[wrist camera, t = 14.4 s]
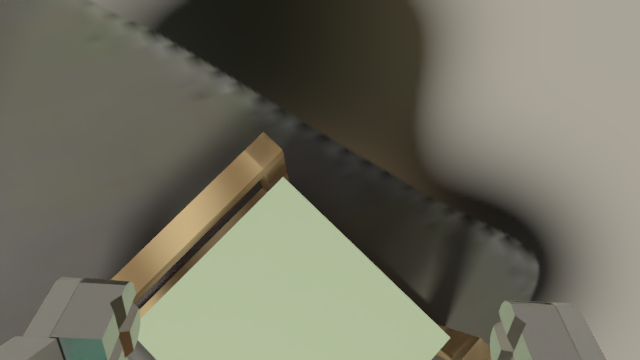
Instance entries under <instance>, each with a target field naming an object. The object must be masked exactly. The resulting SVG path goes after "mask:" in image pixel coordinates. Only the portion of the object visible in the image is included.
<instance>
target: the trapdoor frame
mask: <svg viewBox="0 0 640 360" xmlns="http://www.w3.org/2000/svg"><path fill="white" fill-rule="evenodd" d="M282 177H284V178H285V179H286V180H287V181H288V182H289V179H288V174H287V169H286V164H285V159H284V154H283V150H282V149H281V148H280V147H279V146H278V145H277V144H276V143H275V142H274V141H273V140H272V139H271V138H270V137H269V136H268V135H266V134H265V133H264V132H263V133H262V134H261V135H260V136H259V137H258V138H257V139H255V140H254V141H253V142H252V143H251V144H250V145H249V146H248V147H247V148H246V149H245V150H244V151H243V152H242V153H241V154H240V155H239V156H238V157H237V158H236V159H235V160H234V161H233V162H232V163H231V164H230V165H229V166H228V167H227V168H226V169H225V170H224V171H222V172H221V173H220V174H219V175H218V176H217V177H216V178H215V179H214V180H213V181H212V182H211V183H210V184H209V185H208V186H207V187H206V188H205V189H204V190H203V191H202V192H201V193H200V194H199V195H198V196H197V197H196V198H195V199H194V200H193V201H192V202H191V203H189V204H188V205H187V206H186V207H185V208H184V209H183V210H182V211H181V212H180V213H179V214H178V215H177V216H176V217H175V218H174V219H173V220H172V221H171V222H170V223H169V224H168V225H167V226H166V227H165V228H164V229H163V230H162V231H161V232H160V233H159V234H158V235H156V236H155V237H154V238H153V239H152V240H151V241H150V242H149V243H148V244H147V245H146V246H145V247H144V248H143V249H142V250H141V251H140V252H139V253H138V254H137V255H136V256H135V257H134V258H133V259H132V260H131V261H130V262H129V263H128V264H127V265H126V266H125V267H123V268H122V269H121V270H120V271H119V272H118V273H117V274H116V275H115V276H114V277H113V278H112V279H111V280H117V281H130V282H132V283H133V284H134V288H135V292H136V295H135V297H134V300H133V303H134V304H135V303H136V302H137V301H138V300H139V299H140V298H141V297H142V296H143V295H144V294H145V293H146V292H147V291H148V290H149V289H150V288H151V287H152V286H153V285H154V284H155V283H156V282H157V281H158V280H159V279H160V278H161V277H162V276H163V275H164V274H165V273H166V272H167V271H168V270H169V269H170V268H171V267H172V266H173V265H174V264H175V263H176V262H177V261H178V260H179V259H180V258H181V257H182V256H184V255H185V254H186V253H187V252H188V251H189V250H190V249H191V248H192V247H193V246H194V245H195V244H196V243H197V242H198V241H199V240H200V239H201V238H202V237H203V236H204V235H205V234H206V233H207V232H208V231H209V230H210V229H211V228H212V227H213V226H214V225H215V224H216V223H217V222H218V221H219V220H220V219H221V218H222V217H223V216H224V215H225V214H226V213H227V212H228V211H229V210H230V209H231V208H232V207H233V206H234V205H235V204H236V203H237V202H238V201H239V200H240V199H241V198H242V197H243V196H244V195H245V194H246V193H247V192H248V191H249V190H250V189H251V188H252V187H253V186H254V185H255V184H256V183H257V182H258V181H260V183H261V185H262V187H263V188H262V189H261V190H260V191H259V192H258V193H256V194H255V195H254V196H253V197H252V198H251V199H250V200H249V201H248V202H247V203H246V204H245V205H244V206H243V207H242V208H241V209H240V210H239V211H238V212H237V213H236V214H235V215H234V216H233V217H232V218H231V219H230V220H229V221H228V222H227V223H226V224H225V225H224V226H223V227H222V228H221V229H220V230H219V231H218V232H217V233H216V234H215V235H214V236H213V237H212V238H211V239H210V240H209V241H208V242H207V243H206V244H205V245H204V246H203V247H202V248H201V249H200V250H199V251H198V252H197V253H196V254H195V255H194V256H193V257H192V258H191V259H190V260H189V261H188V262H187V263H186V264H185V265H184V266H183V267H182V268H181V269H180V270H179V271H178V272H177V273H176V274H175V275H174V276H173V277H172V278H171V279H170V280H169V281H168V282H167V283H166V284H165V285H164V286H163V287H162V288H161V289H160V290H159V291H158V292H157V293H156V294H155V295H154V296H153V297H152V298H151V299H150V300H149V301H148V302H147V303H146V304H145V305H144V306H143V307H142V308H141V309H140V310H139V312H140V319H141V318H142V317H143V316H144V315H145V314H146V313H147V312H148V311H149V310H150V309H151V308H152V307H153V306H154V305H155V304H156V303H157V302H158V301H159V300H160V299H161V298H162V297H163V296H164V295H165V294H166V293H167V292H168V291H169V290H170V289H171V288H172V287H173V286H174V285H175V284H176V283H177V282H178V281H179V280H180V279H181V278H182V277H183V276H184V275H185V274H186V273H187V272H188V271H189V270H190V269H191V268H192V267H193V266H194V265H195V264H196V263H197V262H198V261H199V260H200V259H201V258H202V257H203V256H204V255H205V254H206V253H207V252H208V251H209V250H210V249H211V248H212V247H213V246H214V245H215V244H216V243H217V242H218V241H219V240H220V239H221V238H222V237H223V236H224V235H225V234H226V233H227V232H228V231H229V230H230V229H231V228H232V227H233V226H234V225H235V224H236V223H237V222H238V221H239V220H240V219H241V218H242V217H243V216H244V215H245V214H246V213H247V212H248V211H249V210H250V209H251V208H252V207H253V206H254V205H255V204H256V203H257V202H258V201H259V200H260V199H261V198H262V197H263V196H264V195H265V194H266V193H267V192H268V191H269V190H270V189H271V188H272V187H273V186H274V185H275V184H276V183H277V182H278V181H279V180H280V179H281V178H282ZM437 325H438V324H437ZM438 326H439V327H440V328H441V329H442V330H443V331H444V332H445V333H446V334H447V335H448V336H449V337H450V339H449V340H448V341H447V343H446V344H445V345H444V346H443V347H442V348H441V349H440V350H439V352H438V353H437V354H436V355H438V356H440V357H442V358H443V359H445V360H492V359H491V353H490V347H489V346H488V345H487V344H486V343H485V342H484V341H483V340H482V339H481V338H478V337H475V336H472V335H469V334H466V333H463V332H460V331H456V330H453V329H450V328H447V327H444V326H441V325H438Z"/></svg>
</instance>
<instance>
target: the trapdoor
mask: <svg viewBox="0 0 640 360" xmlns="http://www.w3.org/2000/svg"><path fill="white" fill-rule="evenodd" d="M449 339H450V337H449V336H448V335H447V334H446V333H445V332H444V331H443V330H442V329H441V328H440V327H439V326H438V325H437V324H436V323H435V322H434V321H433V320H432V319H431V318H430V317H429V316H428V315H427V314H425V313H424V312H423V311H422V310H421V309H420V308H419V307H418V306H417V305H416V304H415V303H414V302H413V301H412V300H411V299H410V298H409V297H408V296H407V295H406V294H405V293H404V292H403V291H402V290H401V289H399V288H398V287H397V286H396V285H395V284H394V283H393V282H392V281H391V280H390V279H389V278H388V277H387V276H386V275H385V274H384V273H383V272H382V271H381V270H380V269H379V268H378V267H377V266H376V265H375V264H373V263H372V262H371V261H370V260H369V259H368V258H367V257H366V256H365V255H364V254H363V253H362V252H361V251H360V250H359V249H358V248H357V247H356V246H355V245H354V244H353V243H352V242H351V241H350V240H349V239H347V238H346V237H345V236H344V235H343V234H342V233H341V232H340V231H339V230H338V229H337V228H336V227H335V226H334V225H333V224H332V223H331V222H330V221H329V220H328V219H327V218H326V217H325V216H324V215H323V214H321V213H320V212H319V211H318V210H317V209H316V208H315V207H314V206H313V205H312V204H311V203H310V202H309V201H308V200H307V199H306V198H305V197H304V196H303V195H302V194H301V193H300V192H299V191H298V190H297V189H295V188H294V187H293V186H292V185H291V184H290V183H289V182H288V181H287V180H286V179H285V178H284V177H282V178H281V179H280V180H279V181H278V182H277V183H276V184H275V185H274V186H273V187H272V188H271V189H270V190H269V191H268V192H267V193H266V194H265V195H264V196H263V197H262V198H261V199H260V200H259V201H258V202H257V203H256V204H255V205H254V206H253V207H252V208H251V209H250V210H249V211H248V212H247V213H246V214H245V215H244V216H243V217H242V218H241V219H240V220H239V221H238V222H237V223H236V224H235V225H234V226H233V227H232V228H231V229H230V230H229V231H228V232H227V233H226V234H225V235H224V236H223V237H222V238H221V239H220V240H219V241H218V242H217V243H216V244H215V245H214V246H213V247H212V248H211V249H210V250H209V251H208V252H207V253H206V254H205V255H204V256H203V257H202V258H201V259H200V260H199V261H198V262H197V263H196V264H195V265H194V266H193V267H192V268H191V269H190V270H189V271H188V272H187V273H186V274H185V275H184V276H183V277H182V278H181V279H180V280H179V281H178V282H177V283H176V284H175V285H174V286H173V287H172V288H171V289H170V290H169V291H168V292H167V293H166V294H165V295H164V296H163V297H162V298H161V299H160V300H159V301H158V302H157V303H156V304H155V305H154V306H153V307H152V308H151V309H150V310H149V311H148V312H147V313H146V314H145V315H144V316H143V317H142V318H141V319H140V330H139V336H138V340H137V343H136V346H135V349H134V351H133V352H132V353H130V354H129V355H128V356H127V357H125V360H432V358H433V357H434V356H435V355H436V354H437V353H438V352H439V350H440V349H441V348H442V347H443V346H444V345H445V344H446V343H447V341H448V340H449Z"/></svg>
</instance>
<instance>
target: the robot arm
mask: <svg viewBox="0 0 640 360" xmlns="http://www.w3.org/2000/svg"><path fill="white" fill-rule="evenodd" d="M135 295H136V292H135V288H134V284H133V283H132V282H130V281H117V280H104V279H91V278H73V277H61V278H59V279H58V280H57V281H56V282H55V283H54V284H53V286H52V288H51V289H50V291H49V293H48V294H47V296H46V298H45V299H44V301H43V303H42V304H41V306H40V308H39V309H38V311H37V313H36V314H35V316H34V318H33V319H32V321H31V323H30V324H29V326H28V328H27V329H26V331H25V333H24V334H23V336H22V337H17V336H15V337H13V338H12V339H10V340H9V341H7V342H6V343H4V344H3V345H1V346H0V360H125V357H127V356H128V355H129V354H130V353H132V352H133V351H134V349H135V346H136V343H137V340H138V336H139V330H140V312H139V308H138V307H137V306H136V305H135V304H134V303H133V300H134V297H135ZM499 315H500V318H501V321H500V322H499V323H497V324H496V325H494V327H493V330H492V333H491V336H490V353H491V359H492V360H606V359H605V357H604V355H603V353H602V351H601V349H600V348H599V346H598V344H597V342H596V340H595V338H594V336H593V334H592V332H591V330H590V328H589V327H588V325H587V323H586V321H585V319H584V317H583V315H582V313H581V311H580V310H579V308H578V307H577V306H576V305H575V304H572V303H548V302H529V301H505V302H504V303H503V304H502V305H501V308H500V310H499Z"/></svg>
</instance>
